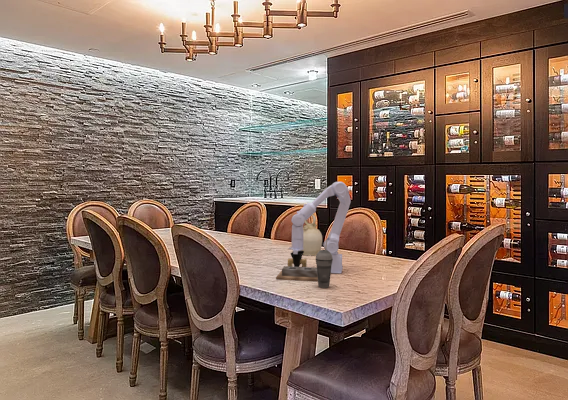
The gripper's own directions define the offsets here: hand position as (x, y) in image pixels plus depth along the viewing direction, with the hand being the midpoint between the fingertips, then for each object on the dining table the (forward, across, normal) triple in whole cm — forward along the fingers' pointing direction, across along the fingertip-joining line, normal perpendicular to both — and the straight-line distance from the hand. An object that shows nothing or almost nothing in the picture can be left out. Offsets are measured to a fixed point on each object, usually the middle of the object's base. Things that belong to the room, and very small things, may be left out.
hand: (297, 266), depth 209 cm
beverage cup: (+3, +28, +15) cm, 32 cm away
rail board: (+2, +12, +3) cm, 13 cm away
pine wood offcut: (+2, 0, 0) cm, 2 cm away
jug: (+3, -52, 0) cm, 53 cm away
